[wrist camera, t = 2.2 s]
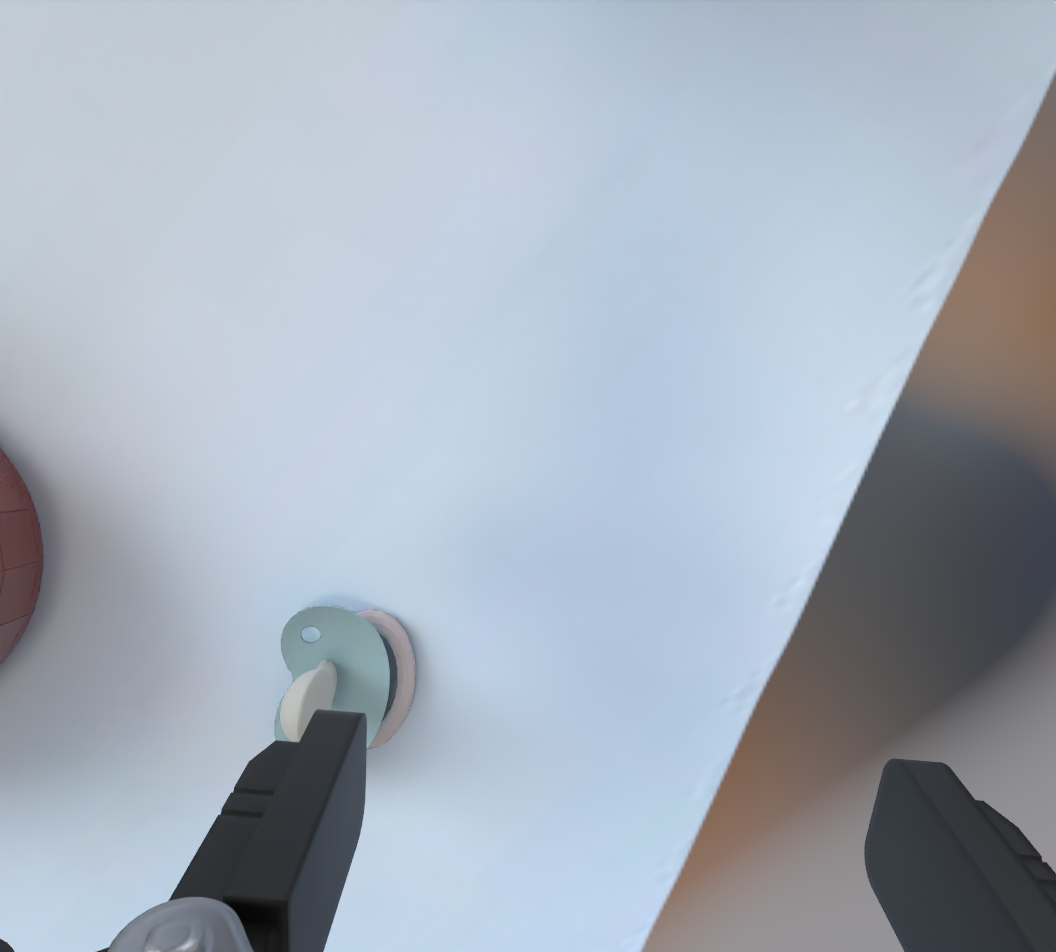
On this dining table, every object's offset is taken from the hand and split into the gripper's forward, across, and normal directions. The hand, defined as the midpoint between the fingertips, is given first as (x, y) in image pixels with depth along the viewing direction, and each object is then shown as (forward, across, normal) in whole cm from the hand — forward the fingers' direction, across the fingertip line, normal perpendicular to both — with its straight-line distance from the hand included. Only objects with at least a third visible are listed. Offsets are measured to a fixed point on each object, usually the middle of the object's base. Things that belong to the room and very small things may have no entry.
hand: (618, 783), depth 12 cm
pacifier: (+21, +9, +12) cm, 26 cm away
